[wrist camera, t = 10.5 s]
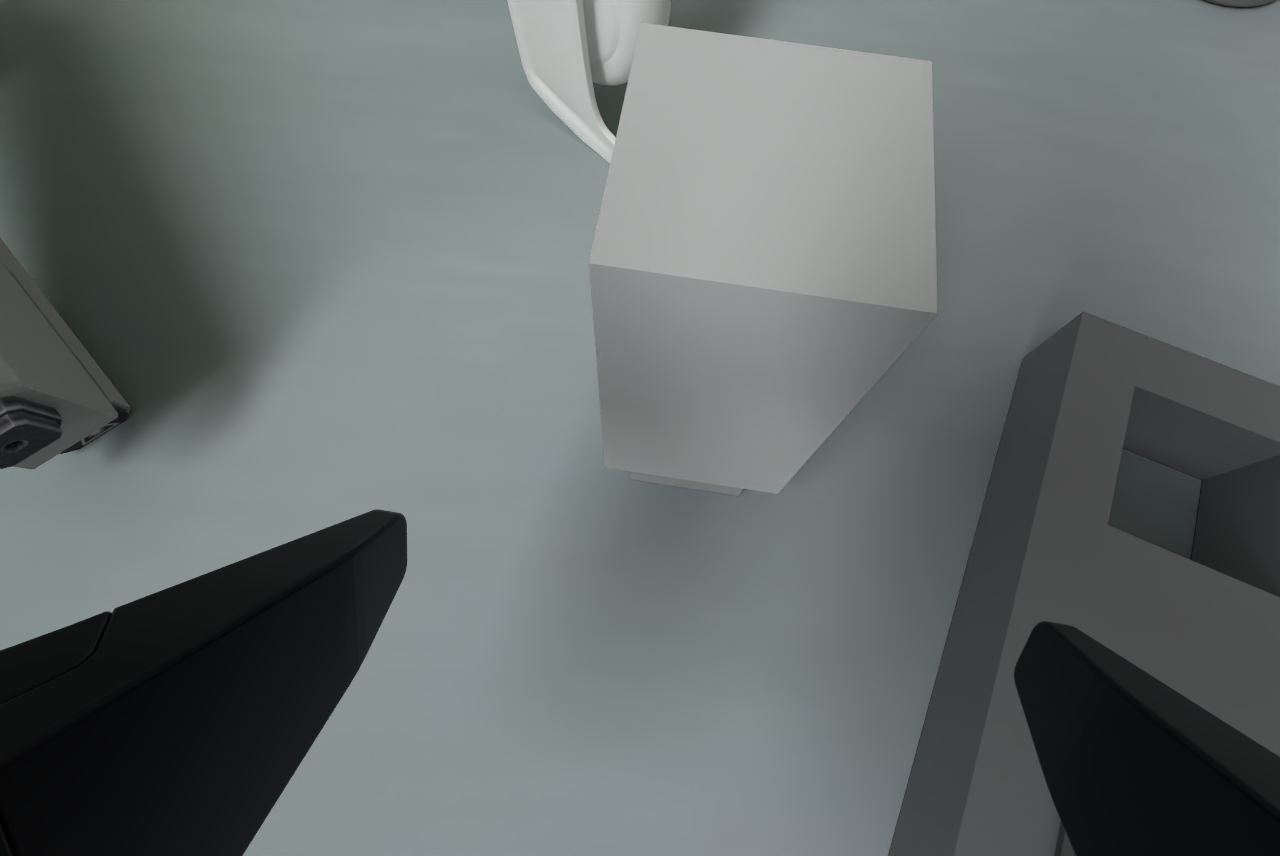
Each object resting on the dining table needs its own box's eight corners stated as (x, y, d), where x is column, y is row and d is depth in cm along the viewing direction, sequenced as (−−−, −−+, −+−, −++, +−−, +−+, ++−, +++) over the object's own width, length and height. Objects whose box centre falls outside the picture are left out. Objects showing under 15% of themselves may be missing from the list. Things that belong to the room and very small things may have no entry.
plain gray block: (756, 518, 19) (937, 313, 8) (607, 494, 19) (589, 263, 8) (767, 382, 21) (931, 61, 10) (630, 362, 21) (640, 22, 10)
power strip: (1158, 1505, 12) (1358, 1817, 9) (775, 1270, 13) (827, 1471, 10) (1266, 454, 20) (1393, 412, 17) (1022, 358, 21) (1097, 300, 18)
